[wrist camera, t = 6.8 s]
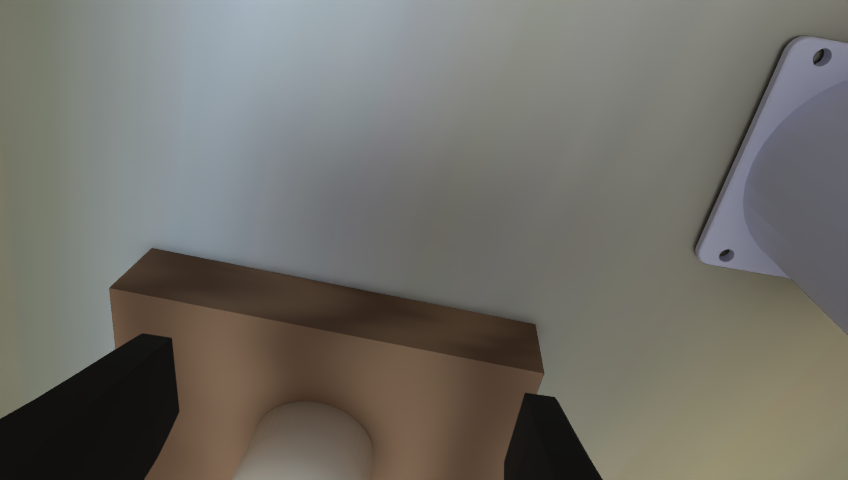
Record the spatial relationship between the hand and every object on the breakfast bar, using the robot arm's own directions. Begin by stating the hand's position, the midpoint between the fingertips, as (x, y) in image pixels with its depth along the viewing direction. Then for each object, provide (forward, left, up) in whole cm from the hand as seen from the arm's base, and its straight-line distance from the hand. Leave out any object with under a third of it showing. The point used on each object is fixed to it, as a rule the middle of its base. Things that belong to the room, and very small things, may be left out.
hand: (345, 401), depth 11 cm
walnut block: (+2, +10, -11) cm, 15 cm away
